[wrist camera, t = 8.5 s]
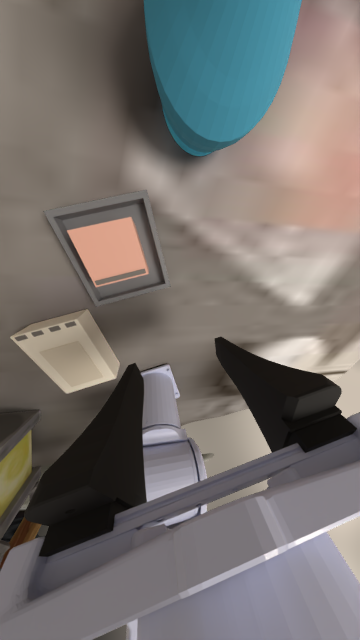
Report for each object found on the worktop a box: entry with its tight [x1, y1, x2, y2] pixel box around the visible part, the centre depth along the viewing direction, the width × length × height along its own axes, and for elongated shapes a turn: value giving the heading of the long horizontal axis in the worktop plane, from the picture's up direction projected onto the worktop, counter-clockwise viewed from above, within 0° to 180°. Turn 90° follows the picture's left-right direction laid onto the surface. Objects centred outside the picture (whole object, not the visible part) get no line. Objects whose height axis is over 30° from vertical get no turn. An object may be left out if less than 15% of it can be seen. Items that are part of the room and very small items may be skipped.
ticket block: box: [10, 309, 120, 394], centre depth 18 cm, size 10×7×3 cm
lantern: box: [0, 410, 41, 571], centre depth 24 cm, size 8×17×30 cm
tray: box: [43, 190, 171, 307], centre depth 15 cm, size 9×9×2 cm
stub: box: [67, 217, 149, 287], centre depth 14 cm, size 4×5×4 cm
